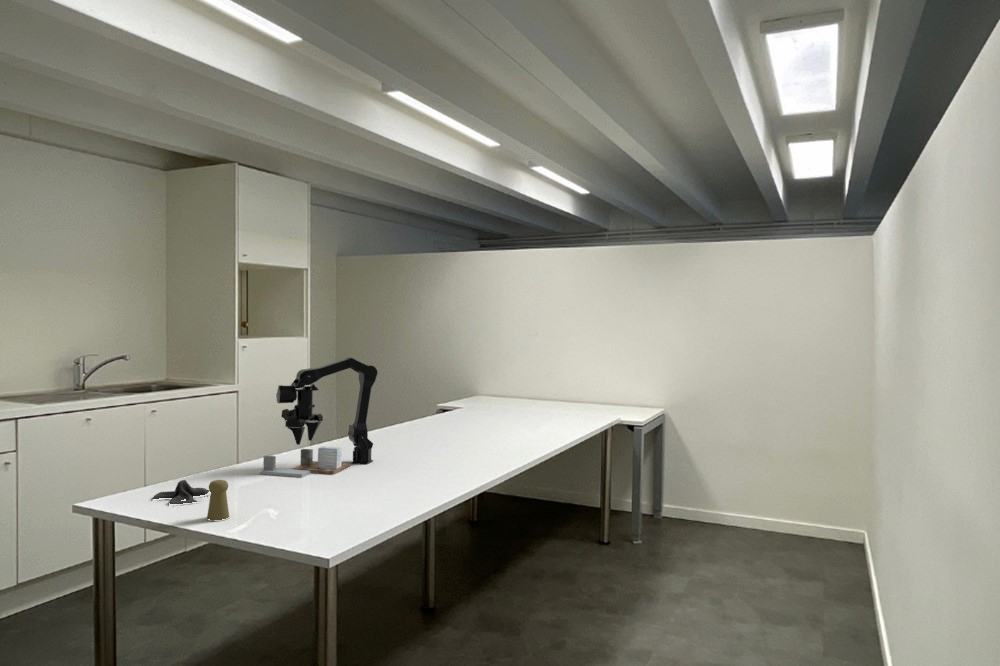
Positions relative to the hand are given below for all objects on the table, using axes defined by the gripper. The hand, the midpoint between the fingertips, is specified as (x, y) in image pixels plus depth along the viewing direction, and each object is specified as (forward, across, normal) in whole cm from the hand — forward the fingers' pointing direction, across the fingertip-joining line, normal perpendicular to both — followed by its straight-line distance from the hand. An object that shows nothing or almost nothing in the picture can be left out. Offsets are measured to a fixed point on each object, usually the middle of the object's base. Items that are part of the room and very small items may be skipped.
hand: (304, 442), depth 263 cm
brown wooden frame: (+10, 0, +8) cm, 12 cm away
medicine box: (+10, +1, +11) cm, 15 cm away
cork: (+10, +66, +9) cm, 67 cm away
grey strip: (+10, +11, -1) cm, 15 cm away
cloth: (+11, +48, -15) cm, 51 cm away
